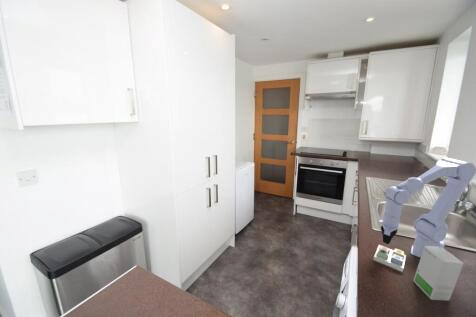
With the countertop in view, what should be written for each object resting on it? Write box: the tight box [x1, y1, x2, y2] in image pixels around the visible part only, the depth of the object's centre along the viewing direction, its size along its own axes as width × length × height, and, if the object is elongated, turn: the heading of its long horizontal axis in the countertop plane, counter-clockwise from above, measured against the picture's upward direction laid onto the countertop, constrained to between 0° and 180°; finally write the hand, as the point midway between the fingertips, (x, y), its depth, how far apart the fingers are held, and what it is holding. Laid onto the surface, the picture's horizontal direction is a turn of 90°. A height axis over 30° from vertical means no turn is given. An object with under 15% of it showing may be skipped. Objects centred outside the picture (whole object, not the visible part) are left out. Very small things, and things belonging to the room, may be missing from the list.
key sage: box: [377, 248, 388, 260], centre depth 89 cm, size 3×3×2 cm
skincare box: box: [412, 246, 465, 302], centre depth 73 cm, size 8×7×16 cm
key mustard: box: [393, 248, 405, 257], centre depth 90 cm, size 3×3×2 cm
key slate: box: [392, 254, 403, 266], centre depth 86 cm, size 3×3×2 cm
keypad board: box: [372, 244, 407, 274], centre depth 90 cm, size 10×11×2 cm
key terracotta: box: [380, 244, 391, 253], centre depth 93 cm, size 3×3×2 cm
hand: (386, 242), depth 92 cm, fingers closed
